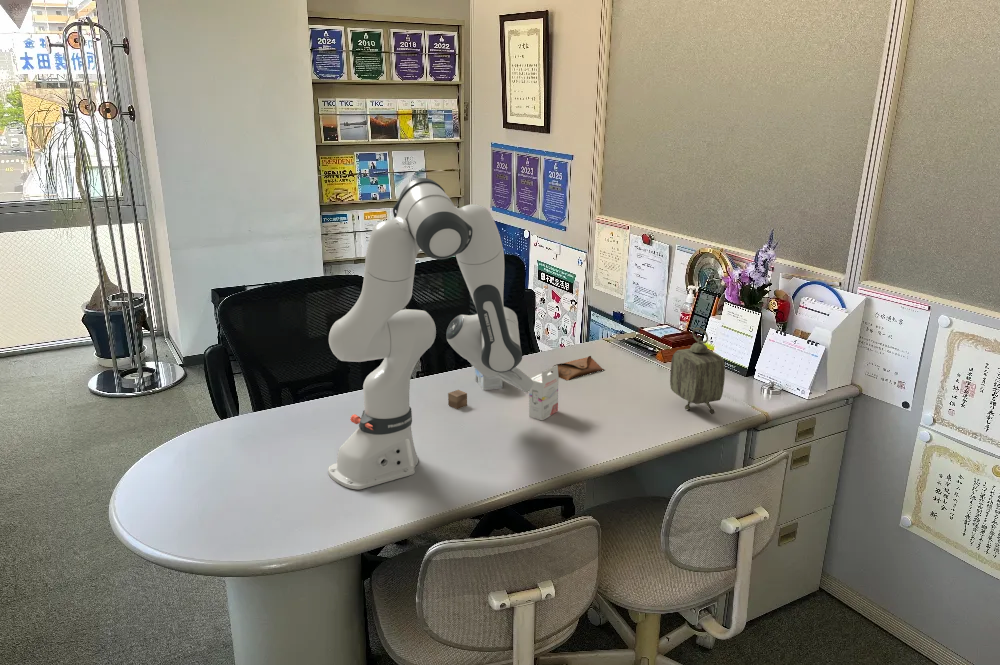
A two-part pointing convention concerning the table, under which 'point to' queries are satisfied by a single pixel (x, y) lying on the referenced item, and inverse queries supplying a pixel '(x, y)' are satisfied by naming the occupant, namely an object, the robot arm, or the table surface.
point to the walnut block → (457, 399)
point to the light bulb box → (487, 381)
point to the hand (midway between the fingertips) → (520, 386)
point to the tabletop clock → (697, 374)
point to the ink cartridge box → (544, 394)
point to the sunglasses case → (577, 368)
